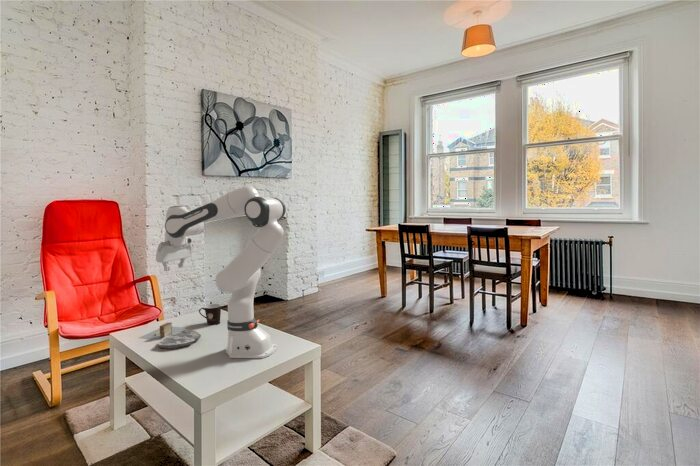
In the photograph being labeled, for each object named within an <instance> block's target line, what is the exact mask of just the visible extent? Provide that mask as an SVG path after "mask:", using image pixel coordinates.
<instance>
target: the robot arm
mask: <svg viewBox="0 0 700 466" xmlns="http://www.w3.org/2000/svg"><path fill="white" fill-rule="evenodd" d="M286 210H287V208H286V205H285V203H284V201H282V200H281V199H279V198H276V197H271V196H261V195H260V194H259V192H258V190H257V189H256V188H255V187H254V186H251V185H246V186H245V185H244V186H242V187H238V188H236V189H233V190H231V191H229V192H227V193H225V194H223V195H220V197H217V198H215V199H214V200H212V201H209V202H208V203H206V204H204V205H201V206H199V207H197V208H195V209H193V210H189V209H187V207H186V206H184V205H174V206H169V207H168V208H167V210H166V214H165V221H164V229H165V232H164V241H161V242H160V243H159V244H158V246H157V249H156V255H155V262H156V263H161V264H162V267H163V271H164V272H168V271H170V268H171V267H170V266H169V262H172V261H178V260H179V263H177V265H178V266H177V267H178V268H180V269H181V268H182V269H183V267H184V264H185V262H186V259H188V258H190V257H191V256H192V253H193V244H192V243H193V238H190V237H192V236H198V235H201V234H202V233H203V232H204V230H205V222H208V221H215V220H231V219H235V218H237V217H239V216H242V215H244V214H245V216H246V218H247V219H248V220H249V222H251V223H252V225H253V226H254V227H255V228H257V230H256V232H255V233H254V234H253V236H252V237H251V238H250V240H249V241H248V243H246V245H245V246H244V247H243V249H242V250H241V251H240V252H239V254H237V255H236V256H235V257H234V258H233V259H232V260H231V261H230V262H229V263H228V264H227V265H226V266H225V267H224V268H223V269H222V270H220V271H219V272H218V273H217V274H216V276H215V285H216V287H217V289H218V290H219V291H220V292H222V293H224V294H225V293H226V294H227V293H229V294H230V293H231V294H230V295H231V296H230V298H229V299H228V301H227V323H226V324H227V331H228V332H227V333H228V334H227V336H228V337H227V344H226V349H225V353H226V354H227V355H228V358H229V359H265V358H267V357H269V356H271V355H272V354H273V353H275V352H276V350H278V349H277V348H278V344H276V343H273V341H272V337H271V335H270V334H269V333H268V332H266V331H265V330H264V329H263V328H261V327H260V326H259V324H258V323H259V322H260V319H257V320H256V318H255V315H254V314H255V312H254V307H255V306H254V300H255V299H254V298H255V293H256V289H257V286H258V285H257V284H258V282H259V280H260V279H261V276H262V271H261V268H262V267H263V266H265V264H266V262H267V261H268V260H269V259H270V258H271V256H273V254H274V252H275V251H276V249H277V248H278V247H279V245H280V243H281V241H282V239H283V237H284V233H285V231H284V228H283V227H282V226H281V224H279V222H278V221H280V220H282V219H283V218H284V216H285V215H286V212H287V211H286Z"/></svg>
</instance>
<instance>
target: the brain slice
mask: <svg viewBox="0 0 700 466" xmlns="http://www.w3.org/2000/svg"><path fill="white" fill-rule="evenodd" d="M201 336H202V335H201V333H199V332H197V331H196V330H191V329H188V330H187V329H186V330H185V329H184V330H182V331H180V332H178V333H175V334H172V335H168V336H166V337H164V338H162V340H158V342H156V345H157V347H159V348H160V349H167V350H172V349H179V348H183V347H184V348H185V347H187V346H190V345H192V344H194V343H196V342H198V341H199V339H200V338H201Z"/></svg>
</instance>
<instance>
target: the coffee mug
mask: <svg viewBox="0 0 700 466" xmlns="http://www.w3.org/2000/svg"><path fill="white" fill-rule="evenodd" d="M201 310H203V311H204V312H205V315H204V314H202V313H201ZM221 312H222V304H220V303H211V304H207V305H205V306H204V307H200V308H199V310H198V313H199V315H200V316H202V317H203V318H205V319H206V323H207V325H208V326H218V325H220V323H221V315H222V314H221Z"/></svg>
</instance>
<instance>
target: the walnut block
mask: <svg viewBox="0 0 700 466" xmlns="http://www.w3.org/2000/svg"><path fill="white" fill-rule="evenodd" d="M159 328H160V338H164V337H166V336H168V335H172V322H166V323H164V324H162V325H159Z"/></svg>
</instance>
